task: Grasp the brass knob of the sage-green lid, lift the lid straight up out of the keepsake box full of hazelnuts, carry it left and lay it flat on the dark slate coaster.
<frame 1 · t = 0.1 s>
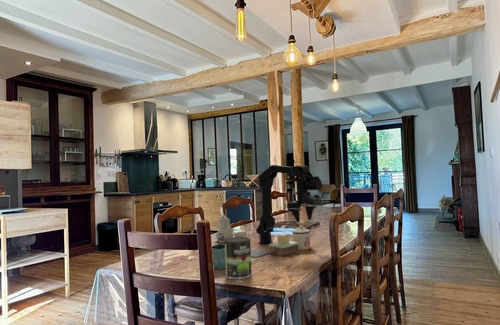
hand: (304, 220, 170), 15 cm above the table, fingers open, 9 cm apart
teacup with lid: (302, 248, 174), on the table
lid: (283, 245, 164), point 4 cm above the table, touching box
flower pot: (220, 267, 144), on the table
coaster: (255, 253, 166), on the table
chinaware: (229, 240, 205), on the table
box: (284, 253, 164), on the table
coffee can: (238, 276, 131), on the table
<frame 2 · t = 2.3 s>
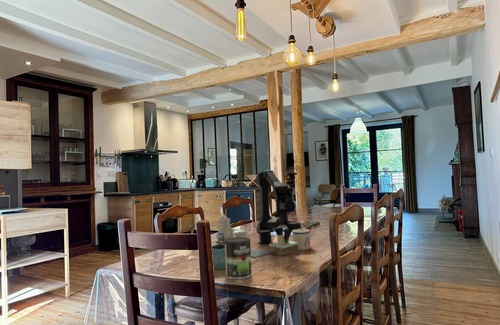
hand: (283, 242, 164), 5 cm above the table, fingers closed on lid, 3 cm apart
lid: (283, 245, 164), point 4 cm above the table, touching box, gripper
everything else where it was.
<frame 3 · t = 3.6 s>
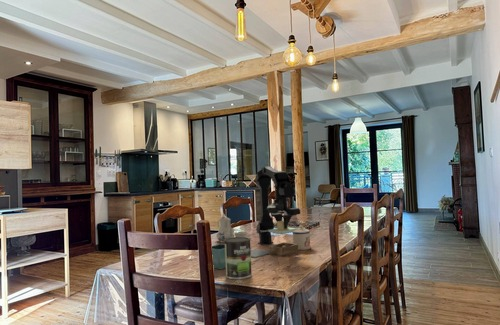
hand: (282, 228, 164), 12 cm above the table, fingers closed on lid, 3 cm apart
lid: (282, 231, 164), point 11 cm above the table, touching gripper
everything else where it was.
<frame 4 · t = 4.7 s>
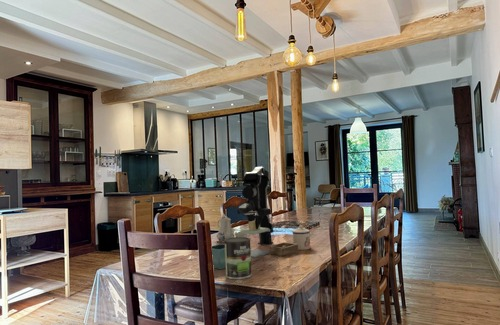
hand: (254, 228, 166), 12 cm above the table, fingers closed on lid, 3 cm apart
lid: (254, 231, 166), point 11 cm above the table, touching gripper
everything else where it was.
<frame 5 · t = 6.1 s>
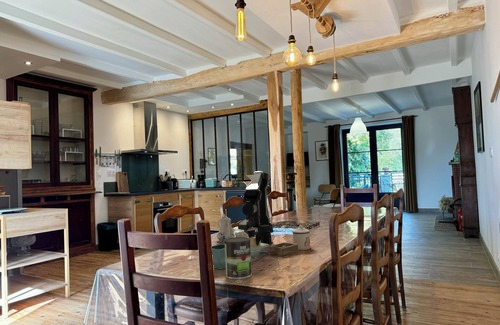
hand: (255, 244, 166), 4 cm above the table, fingers closed on lid, 3 cm apart
lid: (255, 247, 166), point 3 cm above the table, touching gripper
everything else where it was.
when the fingers open (3 cm above the table, at t = 7.0 s): lid stays where it is, resting on coaster.
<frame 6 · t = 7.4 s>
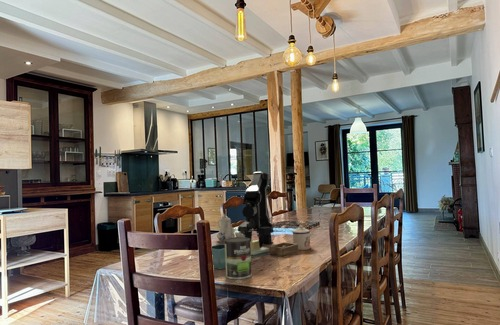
hand: (255, 246, 166), 3 cm above the table, fingers open, 8 cm apart
lid: (255, 251, 166), point 1 cm above the table, touching coaster
everything else where it was.
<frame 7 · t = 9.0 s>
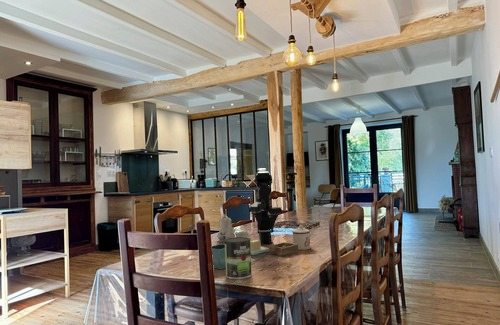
hand: (265, 226, 171), 12 cm above the table, fingers open, 9 cm apart
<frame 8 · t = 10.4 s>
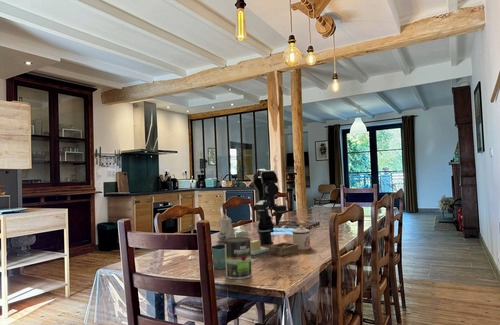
hand: (270, 224, 173), 13 cm above the table, fingers open, 9 cm apart
at the end: lid inside the target area on the coaster (0.0 cm from its centre), point 1.3 cm above the coaster's base; lid tilted 0°; the gripper is holding nothing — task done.
